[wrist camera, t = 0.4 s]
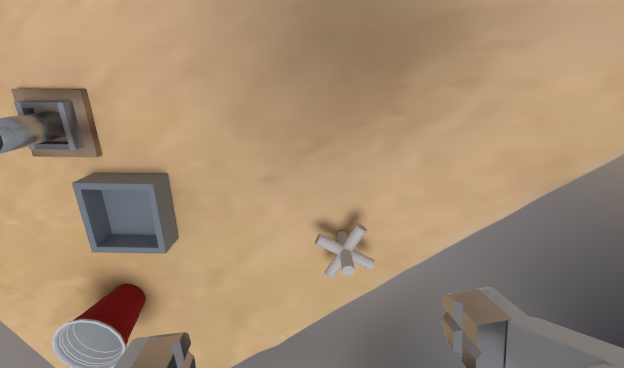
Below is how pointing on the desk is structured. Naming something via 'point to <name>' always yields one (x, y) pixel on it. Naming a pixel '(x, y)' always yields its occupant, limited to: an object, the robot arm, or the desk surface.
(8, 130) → the strut
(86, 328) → the plastic cup
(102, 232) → the bin
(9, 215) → the desk surface
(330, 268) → the pipe connector
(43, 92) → the socket plate
